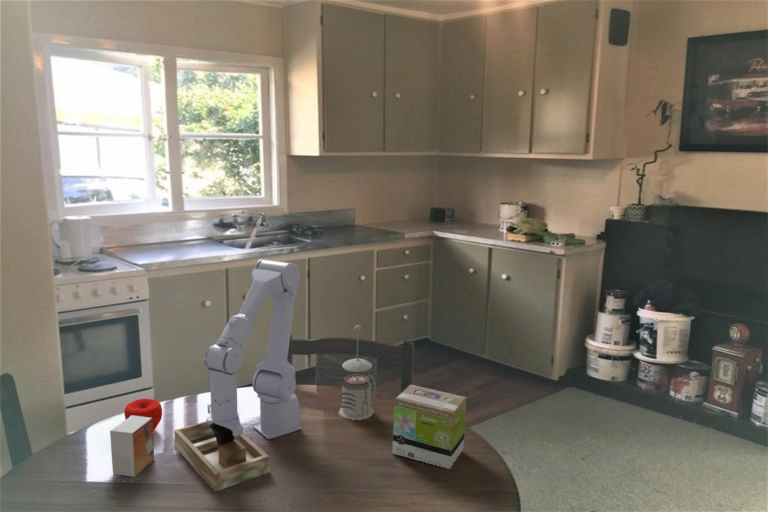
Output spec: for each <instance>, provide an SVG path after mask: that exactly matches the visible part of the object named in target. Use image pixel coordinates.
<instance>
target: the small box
mask: <svg viewBox="0 0 768 512" xmlns="http://www.w3.org/2000/svg"><path fill="white" fill-rule="evenodd" d="M109 433H110V436H109V437H110V448H111V449H110V452H111V465H112V474H113V475H118V476H125V477H131V478H132V477H134V478H135V477H136V476H138V474H140V473H141V472H142V471H143V470H144V469H145V468H146V467H148V466H149V465H150V464H151V463H153V460H154V461H155V447H154V446H155V445H154V443H155V442H154V431H153V419H152V418H149V417H141V416H133V415H131V416H130V417H129V418H128V419H126V420H123V421H122V422H121V423H120V424H119V423H118V424H117V426H115V427H114V428H112V429H110V430H109Z"/></svg>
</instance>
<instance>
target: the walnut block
mask: <svg viewBox="0 0 768 512" xmlns="http://www.w3.org/2000/svg"><path fill="white" fill-rule="evenodd" d="M218 452H219V463H220V464H221V465H222V466H223V467H224V468H228V467H231V466H234V465H237V464H239V463H242V462H245V461H246V448H245V447H244V446H243V445H242V444H241V443H240V442H239V441H238V440H235V441H232V442H229V443H226V444H222V445H219V446H218Z"/></svg>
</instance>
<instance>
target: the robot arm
mask: <svg viewBox="0 0 768 512" xmlns="http://www.w3.org/2000/svg"><path fill="white" fill-rule="evenodd" d="M300 275H301V272H300V269H299V268H298V267H297V265H296V263H295V262H294V263H293V262H284V261H279V260H270V259H266V258H260V259H258V261H256V263H255V265H254V267H253V270H252V271H251V281H252V283H251V286H250V288H249V290H248V292H247V295H246V297H245V299H244V301H243V303H242V305H241V307H240V310H239V312H238V314H235V315H232V316H231V317H230V318H229V321H228V322H227V324H226V325H225V328H224V329H223V331H222V333H221V335H220V336H219V338H218V340H217V342H216V343H215V344H213V345H211V346H209V347H208V348H207V350H206V352H205V355H204V359H203V365H204V368H206V370H207V376H208V377H209V378H210V380H209V381H210V382H209V383H210V387H209V388H210V403H209V404H207V413H208V414H209V416H208V417H206V419H205V421H207V422H208V423H209V424H210V427H211V429H212V430H213V432H214V434H215V437H216V440H217V444H218V446H219V445H222V444H226V443H229V442H232V441H234V438H235V436H239V435H242V434H244V427H243V425H242V423H241V419H240V415H239V412H238V381H237V380H238V377H237V376H238V375H237V374H238V373H237V371H239V369H240V367H241V365H242V363H243V354H244V352H245V349H244V348H245V346H246V344H247V342H248V340H249V338H250V336H251V334H252V333H253V330H254V323H253V320H254V319H255V317H256V315H257V314H258V313H259V311H260V309H261V307H262V306H263V305H264V303H265V302H266V300H267V299H268V297H269V296H270V295H271V296H272V298H273V301H272V309H271V315H270V316H271V318H270V324H269V333H268V340H267V348H266V356H265V359H264V360H262V361H261V362H259V363H258V364H257V366H256V370H255V373H254V375H253V379H252V390H253V392H255V393H256V395H257V398H258V399H259V413H260V415H259V416H260V417H259V418H260V419H259V421H260V423H259V424H255V425H254V426H253V428H254V430H256V431H257V432H258V433H260V434H261V435H262V436H263V437H264V438H265V439H267V440H271V439H274V438H278V437H282V436H284V435H287V434H290V433H293V432H296V431H299V430H301V429H302V427H301V426H300V404H299V400H298V397H297V395H296V393H295V391H296V389H297V381H296V369H295V368H294V366H293V365H292V364H291V363H290V362H289V361H288V356H289V348H290V347H289V346H290V340H291V331H292V330H291V329H292V323H293V316H294V307H295V300H296V299H295V298H296V296H297V295H298V292H299V291H298V289H299V283H300Z"/></svg>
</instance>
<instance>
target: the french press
mask: <svg viewBox="0 0 768 512" xmlns="http://www.w3.org/2000/svg"><path fill="white" fill-rule="evenodd" d="M354 330H355V331H356V332H357V334H356V358H351V359H348V360H346V361H344V362H343V363H342V364H341V366H342V368H343V370H345V371H346V372H350V373H352V374H348V375H346V376H345V377H344V378H343V381H344V382H343V383H342V391H341V392H342V401H341V402H342V405H341V406H342V407H341V408H340V409H339V410H340V411H339V410H338V415H339V416H340V415H341V416H342V417H344V418H343V419H345V418H347V419H352V420H351V421H354V420H357V421H363V420H362V419H365V418H368V417H370V416H372V415H373V416H374V414H375V411H374V409H373V408H372V407H371V405H372V404H371V403H372V401H371V400H373V399H374V398H375V396H376V392H377V391H376V389H377V387H376V382H375V379H374V377H373V375H371V373H368V375H364V374H358V373H363V372H367V371H369V370H371V369H372V367H373V364H372V362H370V361H368V360H366V359H364V358H358V356H359V332H360V331H361V330H362V326H361V325H358V324H357V325H355V326H354ZM353 373H355V374H353ZM370 378H371V379H372V381H373V385H374V393H373V396H372V383H371V382H370V381H371V379H370ZM364 386H369V387H364ZM356 387H357V388H356ZM359 387H362V388H359ZM373 411H374V412H373ZM373 413H374V414H373ZM341 416H340V417H341ZM373 416H372V417H373ZM342 417H341V418H342ZM370 418H371V417H370ZM347 419H346V420H347ZM358 419H359V420H358ZM365 420H366V419H365Z"/></svg>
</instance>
